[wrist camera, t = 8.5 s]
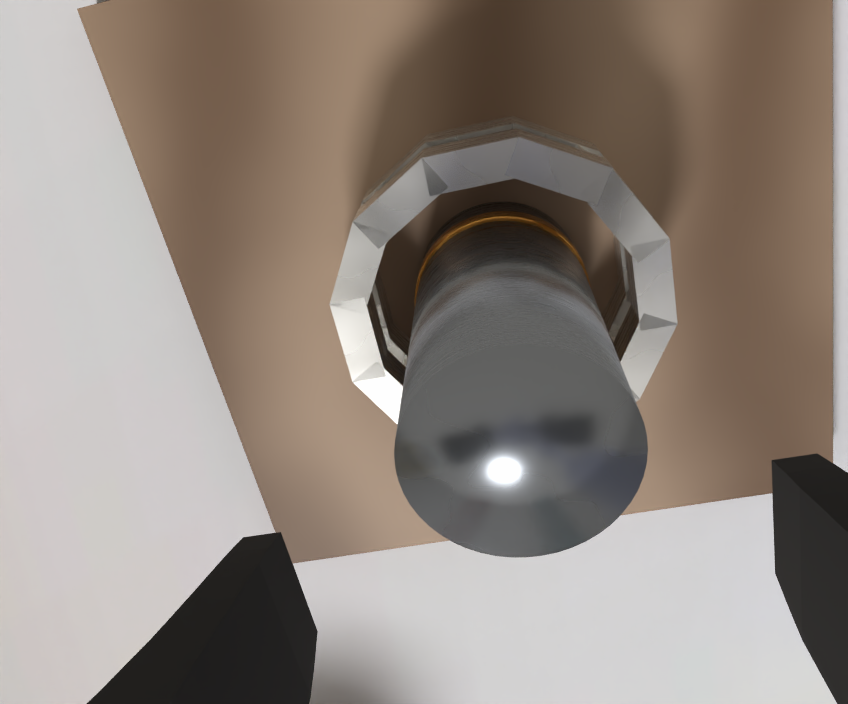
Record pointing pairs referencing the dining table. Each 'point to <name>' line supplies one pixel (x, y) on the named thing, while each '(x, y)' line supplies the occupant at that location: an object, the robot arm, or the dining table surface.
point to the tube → (514, 391)
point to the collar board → (403, 254)
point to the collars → (484, 164)
